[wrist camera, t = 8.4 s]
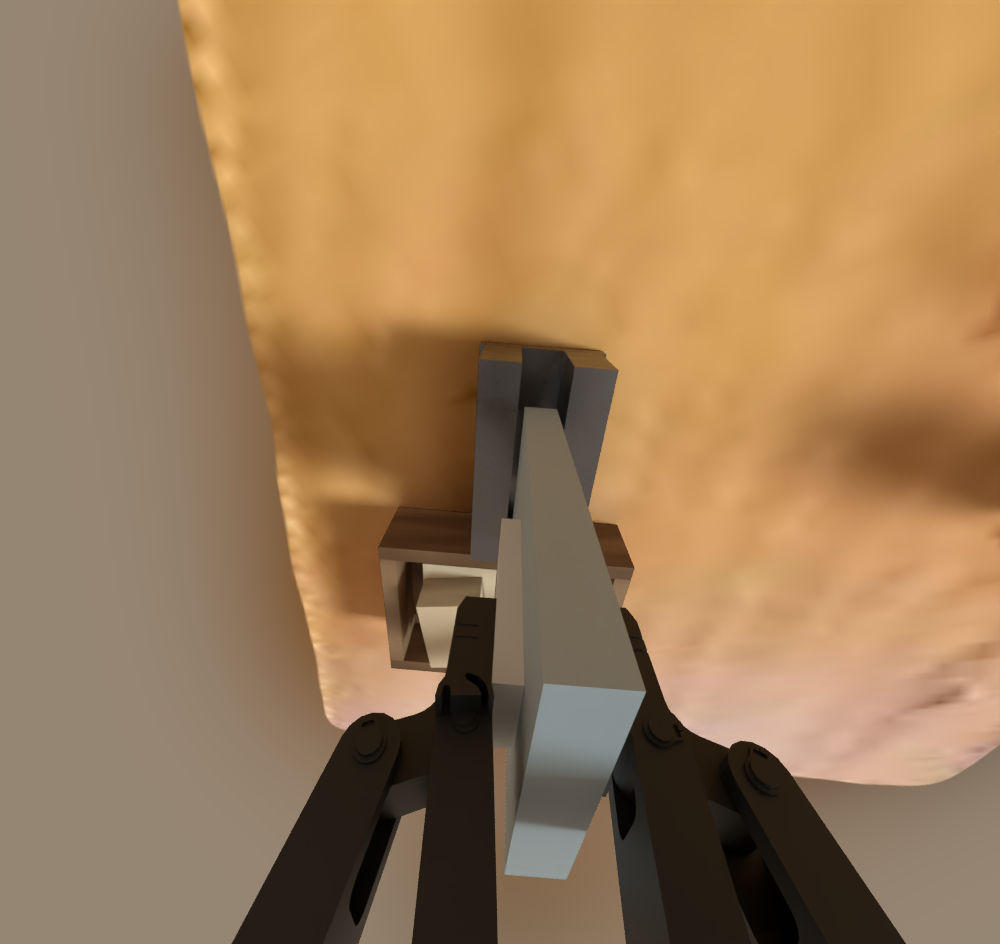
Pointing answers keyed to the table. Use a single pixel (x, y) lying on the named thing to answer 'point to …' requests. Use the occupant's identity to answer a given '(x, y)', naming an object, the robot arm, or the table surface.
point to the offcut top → (443, 612)
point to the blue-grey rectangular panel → (563, 662)
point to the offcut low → (463, 575)
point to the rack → (449, 543)
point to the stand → (499, 419)
